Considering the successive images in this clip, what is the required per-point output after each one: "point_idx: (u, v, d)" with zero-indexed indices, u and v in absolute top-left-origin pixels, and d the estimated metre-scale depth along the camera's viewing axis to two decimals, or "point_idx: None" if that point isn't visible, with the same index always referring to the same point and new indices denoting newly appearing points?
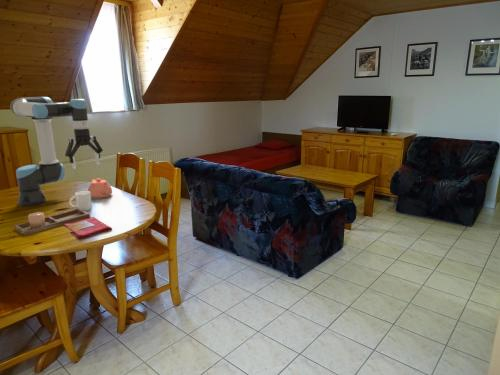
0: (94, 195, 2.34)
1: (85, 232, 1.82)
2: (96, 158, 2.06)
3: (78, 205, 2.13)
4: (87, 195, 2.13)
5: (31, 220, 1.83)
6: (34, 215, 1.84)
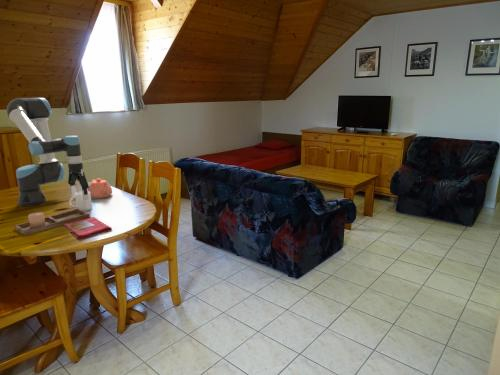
0: (94, 195, 2.34)
1: (85, 232, 1.82)
2: None
3: (78, 205, 2.13)
4: None
5: (31, 220, 1.83)
6: (34, 215, 1.84)
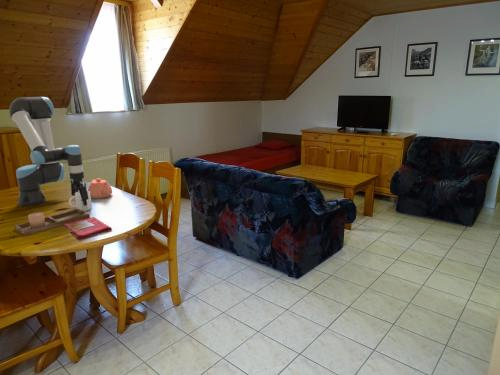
0: (94, 195, 2.34)
1: (85, 232, 1.81)
2: None
3: (78, 205, 2.13)
4: None
5: (31, 220, 1.83)
6: (34, 215, 1.84)
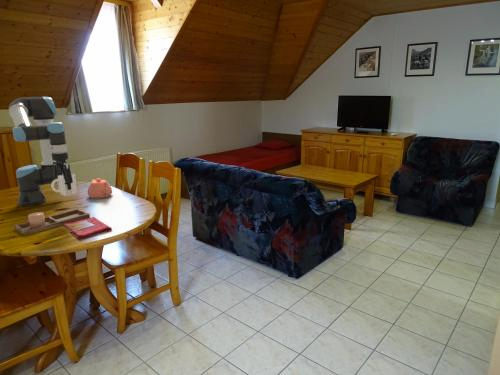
0: (94, 195, 2.34)
1: (85, 232, 1.81)
2: None
3: (61, 189, 1.93)
4: None
5: (31, 220, 1.83)
6: (34, 215, 1.84)
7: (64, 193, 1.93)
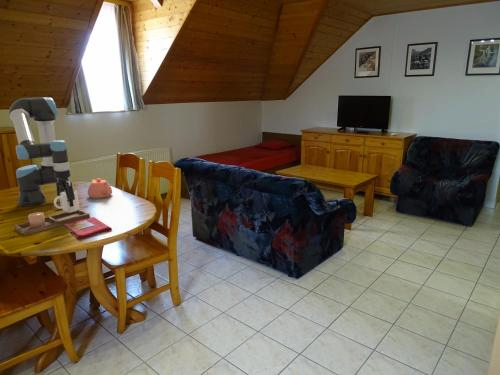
0: (94, 195, 2.34)
1: (85, 232, 1.81)
2: None
3: (63, 206, 1.95)
4: None
5: (31, 220, 1.83)
6: (34, 215, 1.84)
7: (66, 210, 1.95)
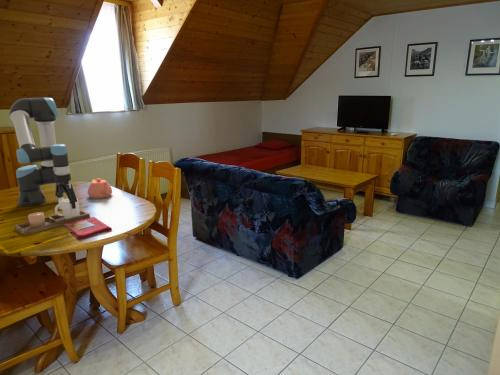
0: (94, 195, 2.34)
1: (85, 232, 1.81)
2: None
3: (64, 213, 1.97)
4: None
5: (31, 220, 1.83)
6: (34, 215, 1.84)
7: (67, 217, 1.97)
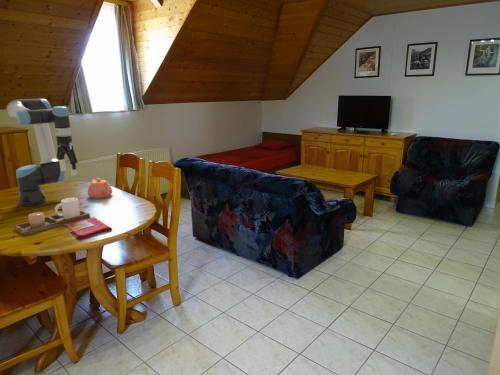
0: (94, 195, 2.34)
1: (85, 232, 1.81)
2: None
3: (64, 213, 1.97)
4: (74, 202, 1.97)
5: (31, 220, 1.83)
6: (34, 215, 1.84)
7: (67, 217, 1.97)
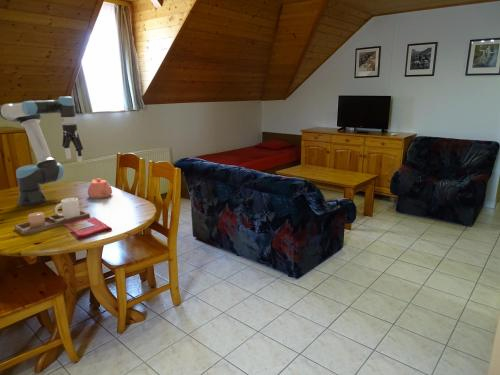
0: (94, 195, 2.34)
1: (85, 232, 1.81)
2: None
3: (64, 213, 1.97)
4: (74, 202, 1.97)
5: (31, 220, 1.83)
6: (34, 215, 1.84)
7: (67, 217, 1.97)
